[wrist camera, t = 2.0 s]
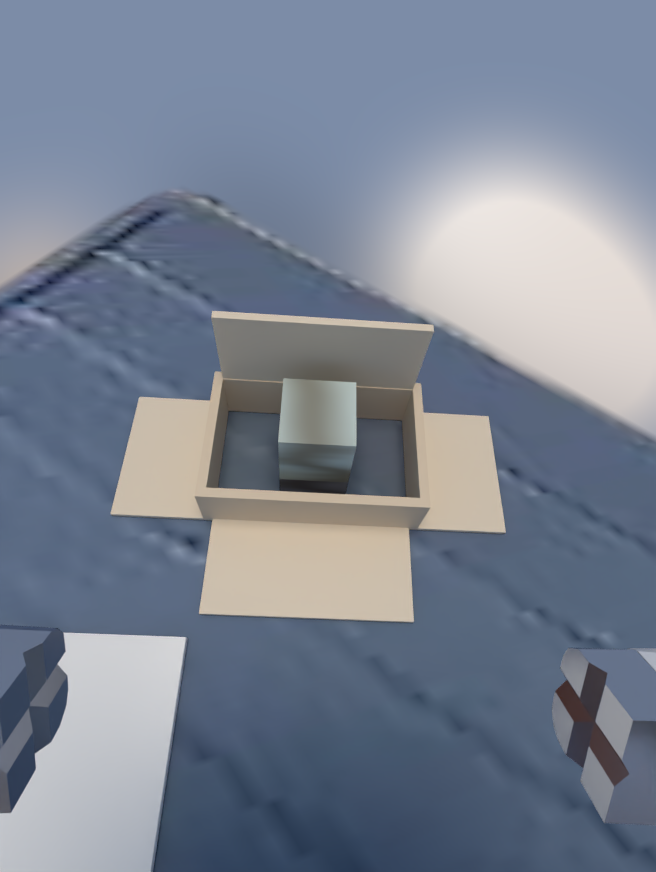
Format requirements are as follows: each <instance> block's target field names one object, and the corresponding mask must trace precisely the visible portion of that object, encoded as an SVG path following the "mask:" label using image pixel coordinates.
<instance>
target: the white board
mask: <svg viewBox="0 0 656 872" xmlns="http://www.w3.org/2000/svg"><path fill="white" fill-rule="evenodd" d="M64 641H65V650H66V652H65V653H64V655H63V656H62V658H61V659H60V661H59V662H58V665H59V666H60V668H61V669H62V670H63V671H64V672H65V673H66V674H67V676H68V696H67V705H66V708H65V711H64V715H63V718H62V721H61V724H60V727H59V729H58V730H57V732H56V734H55V736H54V738H53V740H52V742H51V743H49V744H48V745H47V746H45V747H44V748H42V749H41V750H39V751H38V752H37V753H35V763H36V770H35V772H34V774H33V775H32V777H31V779H30V781H29V782H28V784H27V786H26V788H25V789H24V791H23V793H22V795H21V796H20V798H19V800H18V802H17V803H16V805H15V807H14V809H13V810H12V812H11V813H0V872H153V868H154V861H155V855H156V848H157V841H158V835H159V828H160V821H161V815H162V808H163V801H164V795H165V788H166V781H167V775H168V768H169V761H170V754H171V748H172V741H173V734H174V728H175V721H176V714H177V708H178V701H179V694H180V688H181V681H182V674H183V668H184V661H185V654H186V648H187V641H188V639H187V638H186V637H166V636H139V635H112V634H84V633H64Z"/></svg>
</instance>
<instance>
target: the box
mask: <svg viewBox="0 0 656 872" xmlns="http://www.w3.org/2000/svg"><path fill="white" fill-rule="evenodd" d="M355 450H356V382H339V381H322V380H305V379H287V378H283V390H282V402H281V414H280V426H279V438H278V451H279V478H280V491H287V492H308V493H328V494H345V493H346V488H347V484H348V480H349V476H350V471H351V467H352V463H353V459H354V454H355Z"/></svg>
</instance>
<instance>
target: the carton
mask: <svg viewBox="0 0 656 872" xmlns="http://www.w3.org/2000/svg"><path fill="white" fill-rule="evenodd" d="M211 318H212V324H213V329H214V334H215V340H216V345H217V350H218V356H219V361H220V366H221V371H222V372H215V375H214V381H213V387H212V393H211V399H210V401H205V400H187V399H169V398H152V397H139V401H138V405H137V409H136V413H135V417H134V421H133V425H132V429H131V433H130V437H129V441H128V445H127V449H126V453H125V458H124V462H123V466H122V470H121V474H120V478H119V482H118V486H117V490H116V494H115V498H114V502H113V506H112V510H111V515H112V516H127V517H149V518H170V519H192V520H212V526H211V533H210V541H209V548H208V555H207V562H206V569H205V576H204V583H203V590H202V597H201V604H200V611H199V614H200V615H224V616H250V617H276V618H302V619H328V620H354V621H380V622H406V623H413V622H414V617H413V599H412V580H411V562H410V543H409V530H430V531H451V532H473V533H494V534H505V533H506V530H505V524H504V517H503V510H502V504H501V497H500V490H499V484H498V477H497V470H496V464H495V457H494V450H493V444H492V437H491V431H490V424H489V417H488V416H472V415H454V414H436V413H423V403H422V390H421V384H419V383H415V382H416V379H417V377H418V374H419V371H420V368H421V366H422V363H423V360H424V357H425V354H426V352H427V349H428V346H429V343H430V341H431V338H432V335H433V332H434V328H433V325H426V324H410V323H395V322H379V321H363V320H348V319H332V318H316V317H300V316H285V315H269V314H253V313H238V312H222V311H212V316H211ZM283 378H287V379H305V380H322V381H339V382H356V418H367V419H385V420H402V430H403V449H404V468H405V486H406V497H389V496H369V495H349V494H328V493H308V492H287V491H267V490H247V489H226V488H218V483H219V476H220V469H221V462H222V455H223V448H224V441H225V434H226V427H227V419H228V412H229V411H241V412H259V413H277V414H281V402H282V390H283Z"/></svg>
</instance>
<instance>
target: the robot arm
mask: <svg viewBox="0 0 656 872" xmlns="http://www.w3.org/2000/svg"><path fill="white" fill-rule="evenodd" d="M65 652H66V650H65V641H64V633H63V632H62V631H61V630H60V629H58V628H48V627H31V626H14V625H0V813H11V812H12V810H13V809H14V807H15V805H16V803H17V802H18V800H19V798H20V796H21V795H22V793H23V791H24V789H25V788H26V786H27V784H28V782H29V781H30V779H31V777H32V775H33V774H34V772H35V770H36V763H35V753H37V752H38V751H39V750H41V749H42V748H44V747H45V746H47V745H48V744H49V743H51V742H52V740H53V738H54V736H55V734H56V732H57V730H58V729H59V727H60V724H61V721H62V718H63V715H64V711H65V708H66V705H67V696H68V676H67V674H66V673H65V672H64V671H63V670H62V669H61V668H60V666H59V665H58V662H59V661H60V659H61V658H62V656H63V655H64V653H65ZM560 669H561V671H562V672H563V674H564V676H565V678H566V681H565V682H564V683H563V684H562V685H561V686H560V687H559V688H558V689H557V690H556V691H555V694H554V699H553V705H552V715H553V725H554V729H555V732H556V735H557V738H558V741H559V743H560V745H561V747H562V748H563V750H564V752H565V754H566V755H567V756H568V757H569V758H571V759H572V760H573V761H574V762H576V763H577V764H578V765H580V766H581V767H582V768H583V770H582V775H581V780H580V781H581V783H582V785H583V786H584V788H585V790H586V792H587V793H588V795H589V797H590V799H591V800H592V802H593V804H594V806H595V808H596V809H597V811H598V813H599V815H600V816H601V818H602V820H603V822H604V823H615V824H635V825H656V649H648V648H628V649H597V648H568V650H567V651H566V652H565V654H564V655H563V659H562V663H561V667H560Z"/></svg>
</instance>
